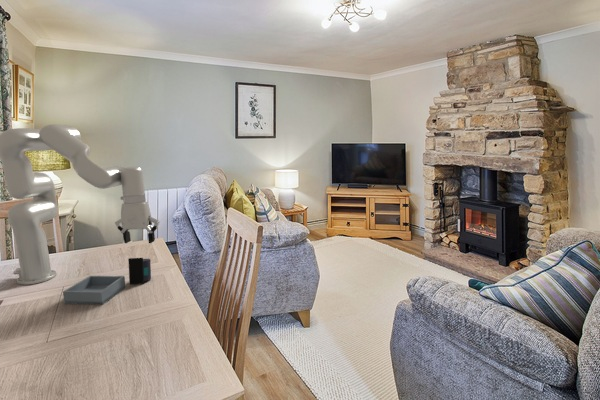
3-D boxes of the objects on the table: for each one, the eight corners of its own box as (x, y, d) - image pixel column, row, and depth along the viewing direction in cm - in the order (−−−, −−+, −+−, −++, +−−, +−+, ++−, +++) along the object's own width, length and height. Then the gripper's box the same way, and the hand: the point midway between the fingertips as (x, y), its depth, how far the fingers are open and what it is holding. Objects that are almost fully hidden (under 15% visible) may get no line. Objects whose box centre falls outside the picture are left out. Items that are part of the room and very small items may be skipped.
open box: (64, 303, 113) (62, 291, 113) (91, 286, 127) (90, 275, 126) (102, 304, 113) (101, 292, 112) (125, 287, 126) (124, 276, 125)
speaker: (142, 285, 127) (140, 259, 126) (129, 285, 128) (127, 258, 127) (154, 279, 134) (153, 254, 133) (142, 279, 135) (140, 254, 135)
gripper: (106, 201, 123) (112, 245, 126) (151, 200, 122) (156, 245, 125) (118, 197, 130) (123, 239, 133) (161, 197, 129) (165, 239, 132)
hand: (139, 242), depth 129 cm, fingers open, 9 cm apart
